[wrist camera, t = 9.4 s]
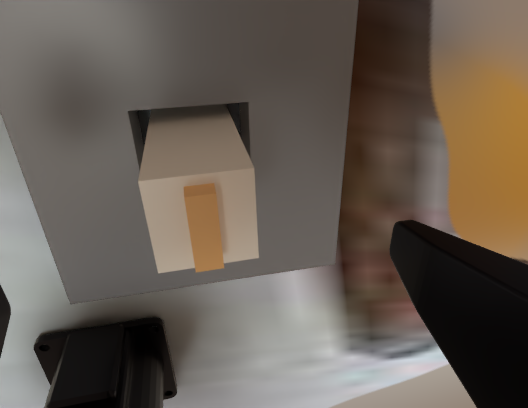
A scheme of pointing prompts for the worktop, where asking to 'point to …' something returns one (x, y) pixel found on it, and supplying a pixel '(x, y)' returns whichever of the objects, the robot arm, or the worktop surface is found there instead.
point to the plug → (198, 189)
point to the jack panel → (168, 96)
